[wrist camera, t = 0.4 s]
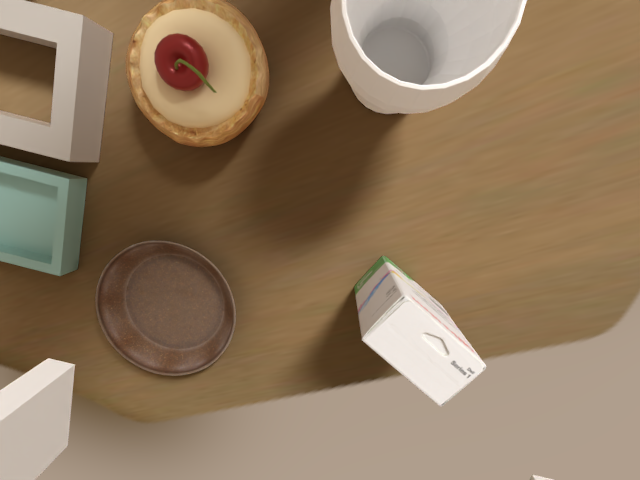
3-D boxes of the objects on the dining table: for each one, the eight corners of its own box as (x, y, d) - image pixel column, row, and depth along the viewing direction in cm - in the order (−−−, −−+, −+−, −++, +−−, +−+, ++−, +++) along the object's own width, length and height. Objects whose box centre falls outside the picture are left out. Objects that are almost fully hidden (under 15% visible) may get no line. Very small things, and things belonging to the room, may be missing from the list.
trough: (-46, 144, 36) (-74, 142, 34) (87, 178, 36) (69, 179, 34) (-48, 237, 38) (-75, 241, 36) (77, 269, 38) (60, 276, 36)
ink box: (351, 286, 37) (357, 341, 26) (383, 252, 36) (405, 293, 25) (410, 337, 38) (442, 412, 26) (443, 305, 37) (491, 368, 25)
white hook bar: (-32, -5, 33) (-98, -35, 28) (113, 33, 33) (73, 9, 28) (-36, 127, 36) (-97, 121, 31) (98, 162, 36) (60, 161, 31)
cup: (362, 149, 34) (380, 136, 19) (313, 42, 32) (293, -60, 18) (466, 97, 33) (571, 40, 18) (421, -18, 31) (496, -183, 16)
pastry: (185, -7, 33) (128, -76, 24) (297, 57, 33) (282, 13, 24) (134, 112, 35) (64, 89, 26) (240, 171, 35) (207, 168, 26)
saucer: (91, 324, 40) (73, 335, 37) (140, 210, 37) (125, 213, 34) (208, 384, 41) (199, 399, 38) (265, 277, 38) (260, 285, 35)
